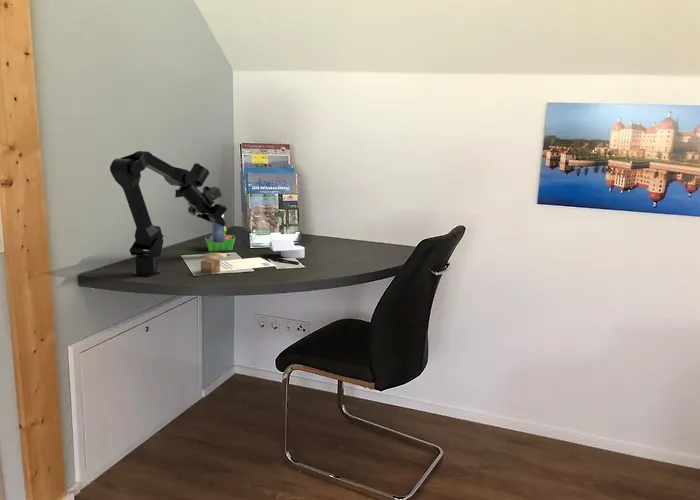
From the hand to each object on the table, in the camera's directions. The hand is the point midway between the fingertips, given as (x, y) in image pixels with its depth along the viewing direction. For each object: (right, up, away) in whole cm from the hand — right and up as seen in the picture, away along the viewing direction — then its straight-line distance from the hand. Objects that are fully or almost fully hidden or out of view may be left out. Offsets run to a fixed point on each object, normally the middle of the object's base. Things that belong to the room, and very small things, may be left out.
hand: (221, 224), depth 233 cm
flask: (-1, -6, 0) cm, 6 cm away
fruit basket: (-4, -10, +16) cm, 19 cm away
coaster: (-3, -12, +3) cm, 13 cm away
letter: (+9, -15, -9) cm, 19 cm away
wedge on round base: (+24, -12, +7) cm, 28 cm away
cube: (+1, -17, -22) cm, 28 cm away
